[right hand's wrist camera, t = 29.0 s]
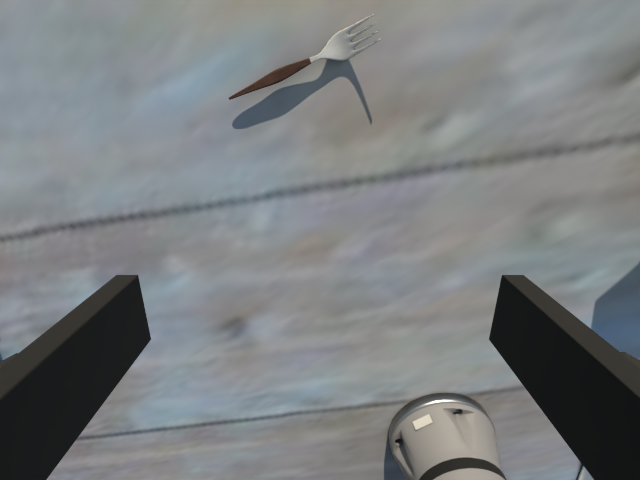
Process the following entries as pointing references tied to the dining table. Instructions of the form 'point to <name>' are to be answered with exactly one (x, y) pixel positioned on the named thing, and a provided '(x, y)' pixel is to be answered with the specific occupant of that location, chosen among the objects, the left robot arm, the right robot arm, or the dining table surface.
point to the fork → (317, 57)
